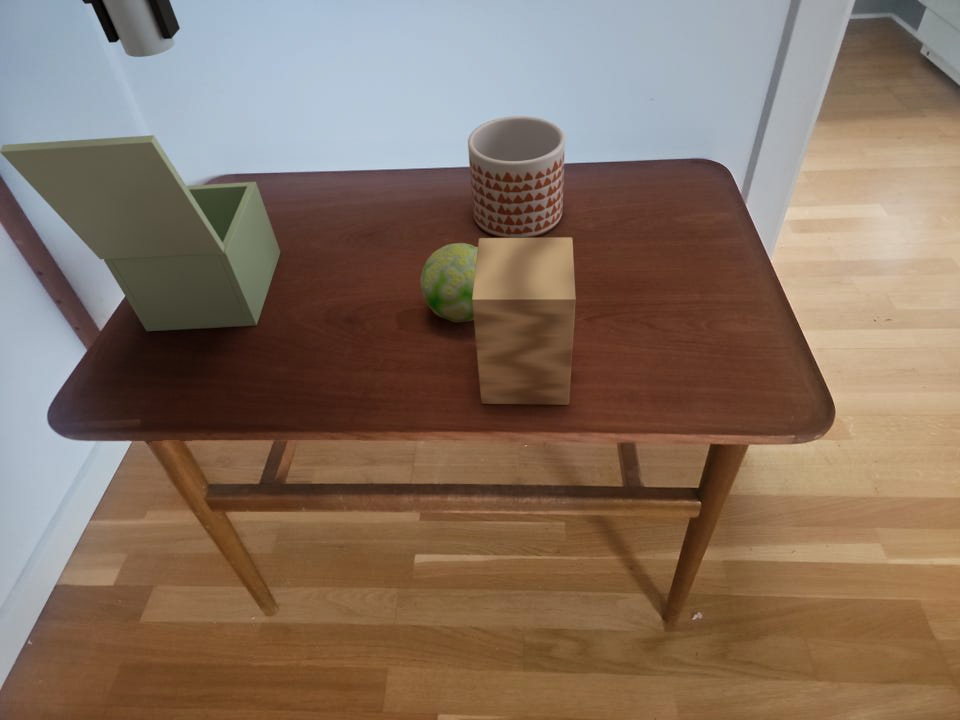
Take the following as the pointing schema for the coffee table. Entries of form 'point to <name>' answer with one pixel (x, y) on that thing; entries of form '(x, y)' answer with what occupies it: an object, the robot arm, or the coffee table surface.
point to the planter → (517, 176)
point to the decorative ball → (450, 281)
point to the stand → (524, 319)
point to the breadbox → (207, 268)
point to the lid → (117, 195)
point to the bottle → (137, 27)
